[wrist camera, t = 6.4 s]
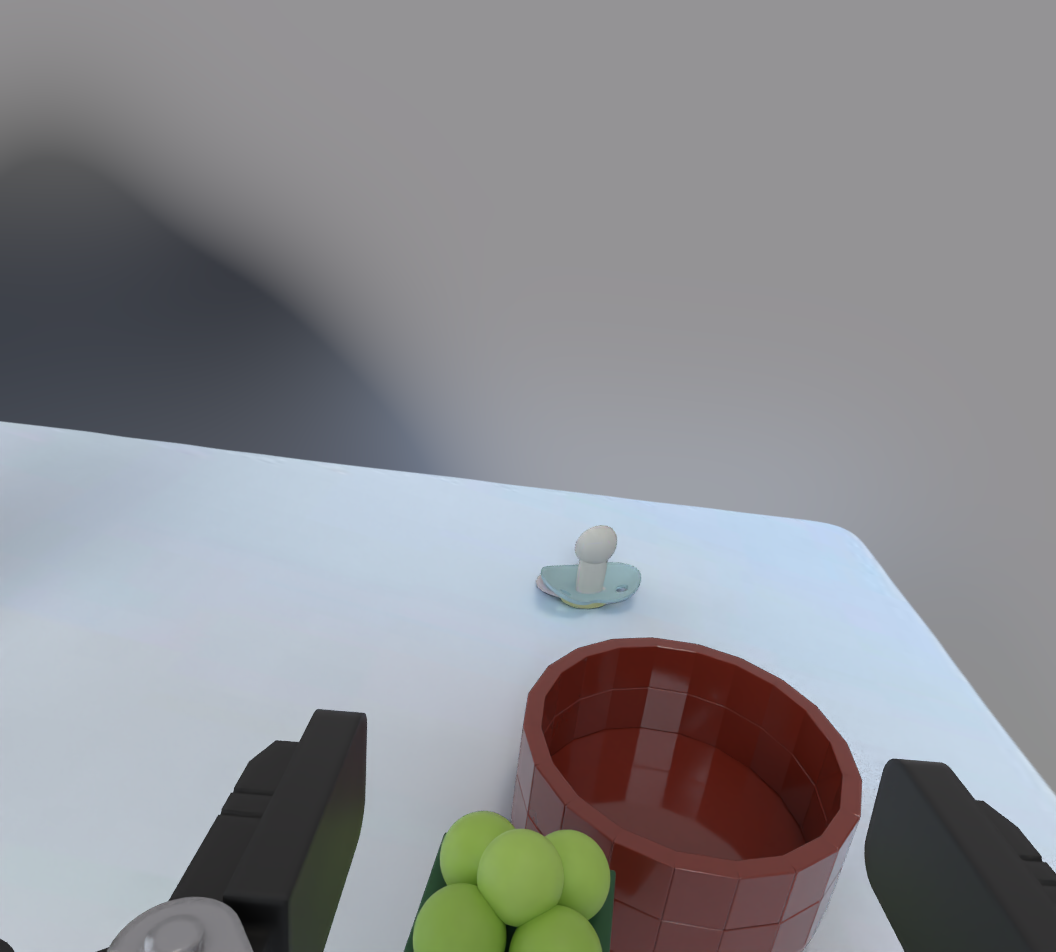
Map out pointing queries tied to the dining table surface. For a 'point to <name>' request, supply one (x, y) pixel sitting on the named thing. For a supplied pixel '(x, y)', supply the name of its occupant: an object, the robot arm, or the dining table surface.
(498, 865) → the grapes
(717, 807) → the pot
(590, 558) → the pacifier
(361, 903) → the dining table surface
